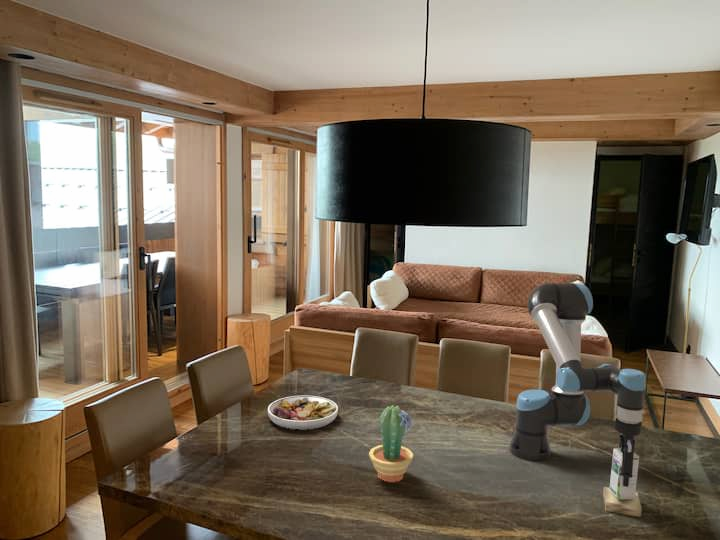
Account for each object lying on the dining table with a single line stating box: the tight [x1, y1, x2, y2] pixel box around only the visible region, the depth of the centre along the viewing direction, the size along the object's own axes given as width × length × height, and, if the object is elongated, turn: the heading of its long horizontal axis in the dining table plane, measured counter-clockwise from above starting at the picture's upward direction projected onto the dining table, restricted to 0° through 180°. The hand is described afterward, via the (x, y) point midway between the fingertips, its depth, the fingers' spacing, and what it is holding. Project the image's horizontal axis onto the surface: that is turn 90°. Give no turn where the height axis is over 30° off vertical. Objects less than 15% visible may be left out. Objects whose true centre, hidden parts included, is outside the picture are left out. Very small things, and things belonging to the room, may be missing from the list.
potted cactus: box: [368, 404, 414, 483], centre depth 197 cm, size 15×15×25 cm
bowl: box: [267, 395, 339, 431], centre depth 247 cm, size 30×30×8 cm
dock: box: [602, 486, 643, 518], centre depth 182 cm, size 10×10×3 cm
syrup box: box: [609, 447, 640, 499], centre depth 181 cm, size 6×6×14 cm
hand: (622, 488), depth 182 cm, fingers closed on syrup box, 7 cm apart
